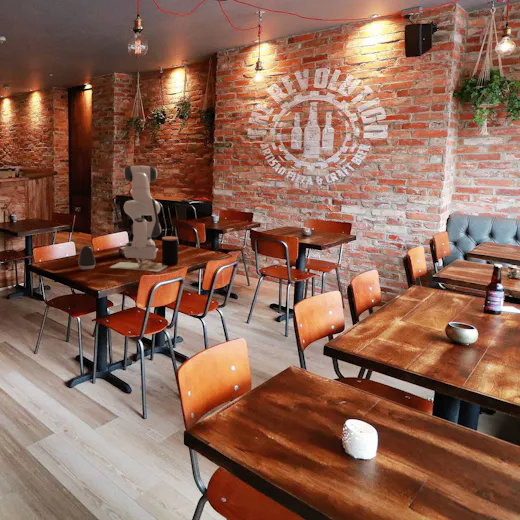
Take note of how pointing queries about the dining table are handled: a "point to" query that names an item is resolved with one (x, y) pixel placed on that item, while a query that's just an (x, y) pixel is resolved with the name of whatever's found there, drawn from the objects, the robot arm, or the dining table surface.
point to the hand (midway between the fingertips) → (140, 264)
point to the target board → (136, 267)
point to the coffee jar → (170, 250)
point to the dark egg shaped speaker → (86, 258)
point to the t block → (150, 265)
